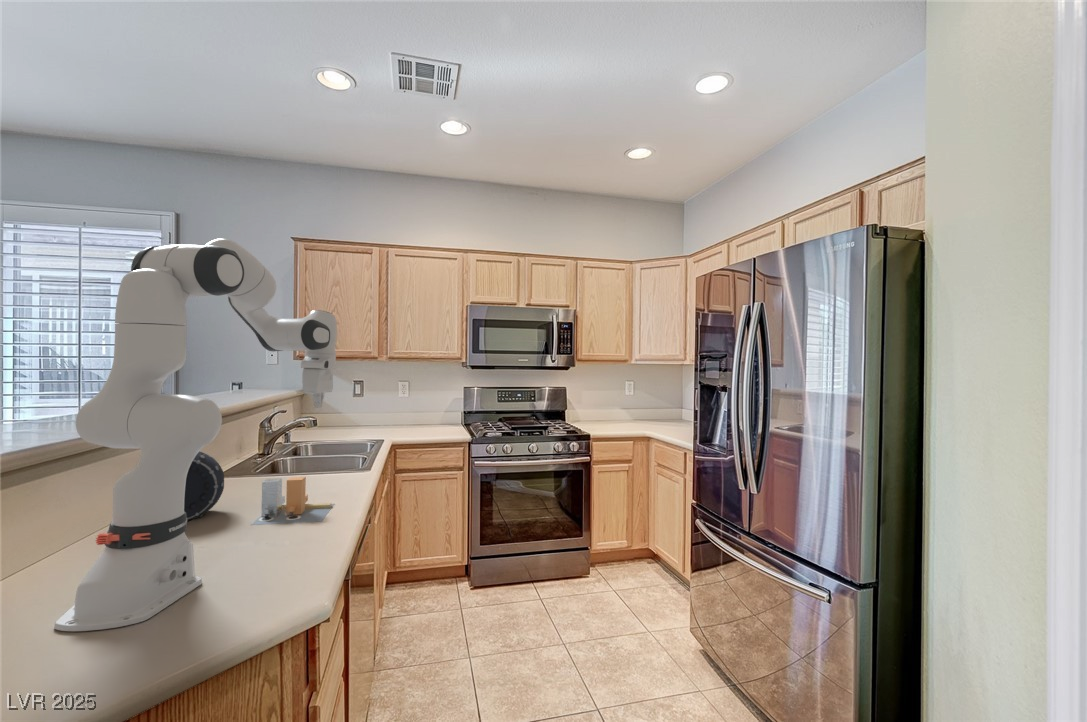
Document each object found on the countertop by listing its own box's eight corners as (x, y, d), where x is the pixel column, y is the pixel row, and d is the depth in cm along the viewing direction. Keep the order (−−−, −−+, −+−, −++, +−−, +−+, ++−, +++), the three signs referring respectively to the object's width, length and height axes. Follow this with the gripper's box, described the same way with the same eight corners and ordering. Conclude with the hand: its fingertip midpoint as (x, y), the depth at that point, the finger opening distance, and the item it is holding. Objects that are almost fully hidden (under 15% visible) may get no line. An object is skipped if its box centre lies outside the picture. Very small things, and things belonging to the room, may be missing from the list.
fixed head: (273, 519, 134) (274, 484, 134) (257, 520, 133) (258, 484, 133) (286, 507, 145) (287, 474, 145) (272, 507, 144) (272, 475, 144)
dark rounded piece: (221, 521, 135) (223, 451, 135) (130, 532, 125) (132, 456, 125) (225, 510, 144) (226, 445, 144) (140, 520, 134) (142, 450, 135)
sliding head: (298, 517, 135) (299, 482, 135) (283, 518, 134) (283, 482, 134) (309, 505, 146) (310, 472, 146) (295, 505, 145) (295, 473, 145)
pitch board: (321, 525, 133) (321, 517, 133) (250, 529, 129) (250, 521, 129) (334, 507, 149) (335, 500, 149) (272, 510, 146) (272, 503, 146)
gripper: (318, 363, 158) (316, 405, 157) (299, 361, 138) (296, 409, 137) (338, 364, 159) (336, 405, 158) (322, 362, 139) (319, 409, 138)
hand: (317, 407), depth 147 cm, fingers closed
